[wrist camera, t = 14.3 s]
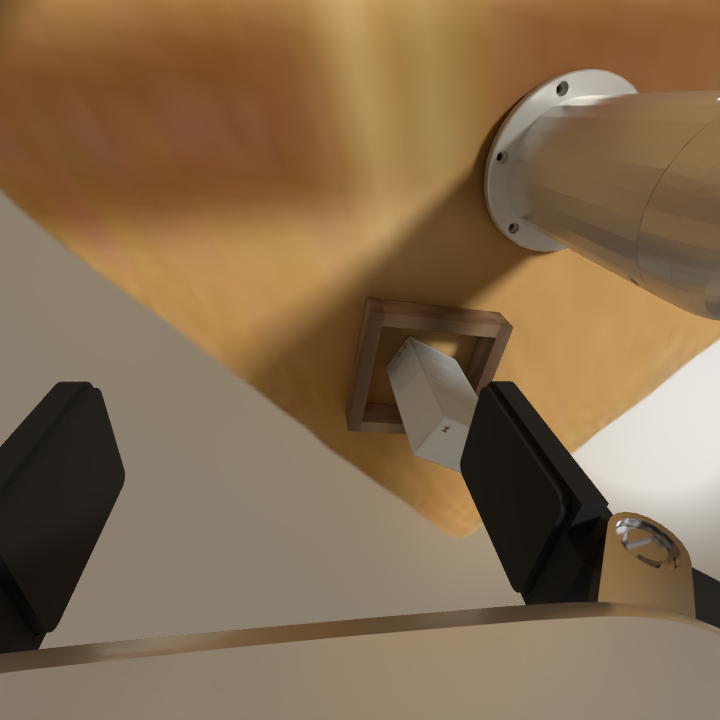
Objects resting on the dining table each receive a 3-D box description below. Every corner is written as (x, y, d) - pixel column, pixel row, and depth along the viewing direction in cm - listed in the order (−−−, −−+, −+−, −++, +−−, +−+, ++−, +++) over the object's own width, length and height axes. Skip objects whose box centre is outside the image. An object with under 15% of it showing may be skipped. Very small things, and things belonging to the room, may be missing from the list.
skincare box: (384, 367, 40) (409, 455, 30) (408, 334, 39) (444, 414, 28) (432, 390, 42) (471, 479, 32) (457, 359, 41) (507, 442, 31)
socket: (499, 312, 38) (513, 327, 36) (460, 418, 45) (469, 437, 42) (366, 297, 36) (370, 311, 34) (345, 411, 43) (347, 430, 40)
